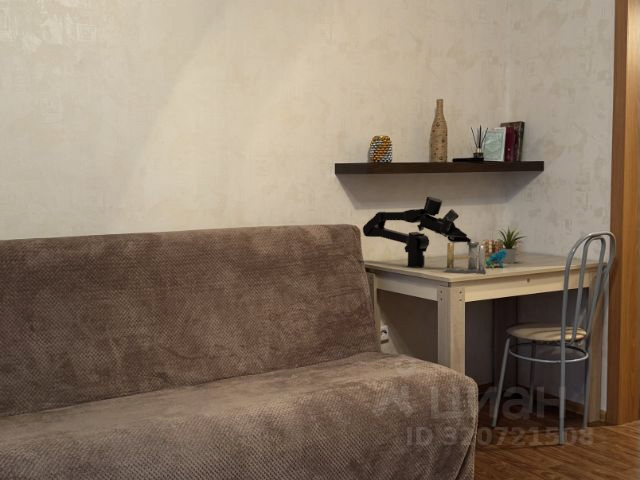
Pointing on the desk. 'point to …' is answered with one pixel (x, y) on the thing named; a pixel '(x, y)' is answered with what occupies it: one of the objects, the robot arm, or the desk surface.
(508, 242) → the house plant
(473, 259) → the grey stone tower
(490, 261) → the blue animal figurine
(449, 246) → the swing leg
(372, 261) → the desk surface
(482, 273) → the bolt plate
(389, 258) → the desk surface
